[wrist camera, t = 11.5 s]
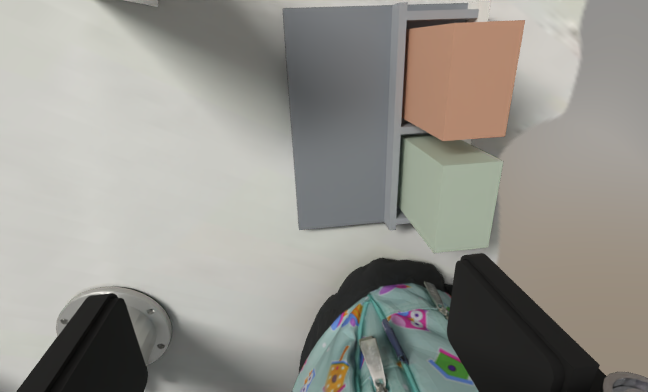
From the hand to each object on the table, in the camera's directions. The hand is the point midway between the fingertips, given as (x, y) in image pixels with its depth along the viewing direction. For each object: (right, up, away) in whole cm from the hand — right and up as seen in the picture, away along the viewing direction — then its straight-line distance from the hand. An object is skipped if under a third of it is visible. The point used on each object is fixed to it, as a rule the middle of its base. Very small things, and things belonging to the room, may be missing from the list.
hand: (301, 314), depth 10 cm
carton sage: (+11, +6, +28) cm, 31 cm away
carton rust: (+11, +15, +24) cm, 30 cm away
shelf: (+6, +11, +27) cm, 30 cm away
